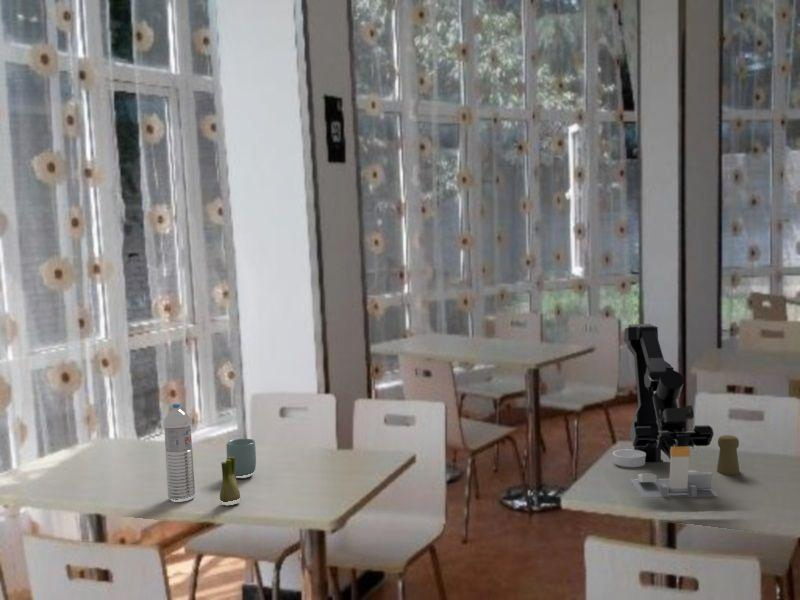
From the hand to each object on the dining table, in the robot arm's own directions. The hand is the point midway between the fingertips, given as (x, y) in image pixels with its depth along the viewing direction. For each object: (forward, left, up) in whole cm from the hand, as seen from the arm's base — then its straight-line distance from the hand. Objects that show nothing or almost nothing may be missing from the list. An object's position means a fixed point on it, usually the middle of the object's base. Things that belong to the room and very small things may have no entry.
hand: (678, 466), depth 212 cm
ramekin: (-25, +15, -9) cm, 31 cm away
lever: (0, 0, -6) cm, 6 cm away
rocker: (-10, +2, -5) cm, 12 cm away
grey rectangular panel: (+1, +7, -6) cm, 9 cm away
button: (-3, +10, -7) cm, 13 cm away
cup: (-95, -66, -9) cm, 116 cm away
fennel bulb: (-76, -80, -9) cm, 111 cm away
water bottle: (-89, -87, -9) cm, 125 cm away
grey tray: (-5, +4, -9) cm, 11 cm away
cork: (-2, +26, -9) cm, 28 cm away
